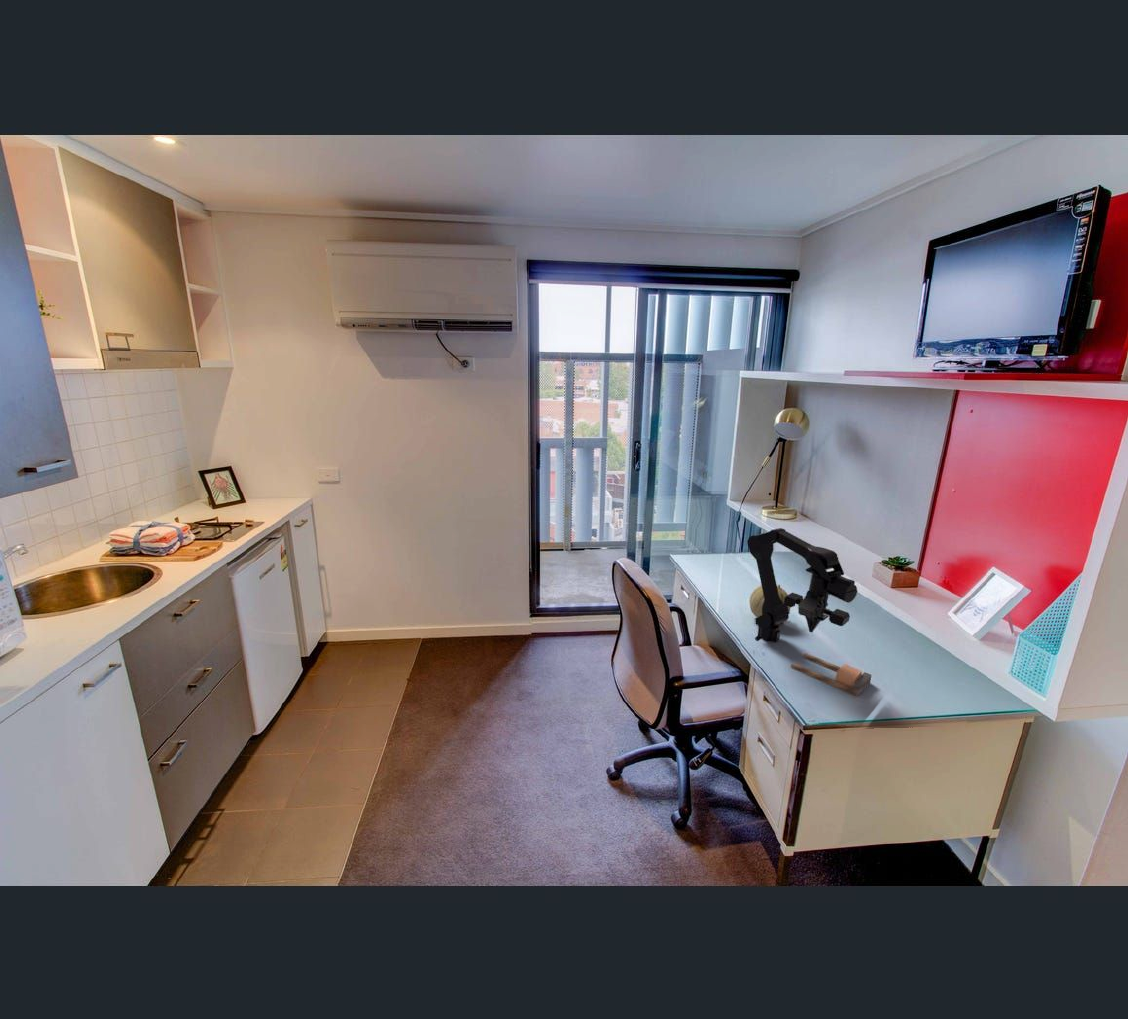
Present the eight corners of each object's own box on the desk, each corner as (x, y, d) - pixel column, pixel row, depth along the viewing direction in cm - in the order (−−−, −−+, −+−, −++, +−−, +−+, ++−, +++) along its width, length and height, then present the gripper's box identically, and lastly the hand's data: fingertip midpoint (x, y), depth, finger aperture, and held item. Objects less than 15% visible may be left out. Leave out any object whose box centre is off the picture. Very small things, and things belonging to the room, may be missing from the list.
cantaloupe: (739, 616, 195) (743, 581, 191) (765, 608, 201) (770, 574, 197) (769, 633, 182) (774, 596, 178) (796, 624, 189) (802, 588, 185)
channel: (790, 669, 160) (792, 659, 159) (804, 658, 167) (805, 648, 166) (857, 699, 146) (859, 688, 145) (869, 686, 152) (871, 674, 151)
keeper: (835, 682, 152) (837, 671, 151) (842, 675, 156) (844, 664, 155) (852, 690, 148) (854, 678, 147) (859, 682, 152) (862, 671, 151)
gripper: (778, 585, 158) (771, 628, 163) (839, 607, 145) (830, 653, 149) (794, 576, 165) (787, 617, 170) (854, 596, 151) (845, 640, 156)
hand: (811, 631), depth 161 cm, fingers closed
